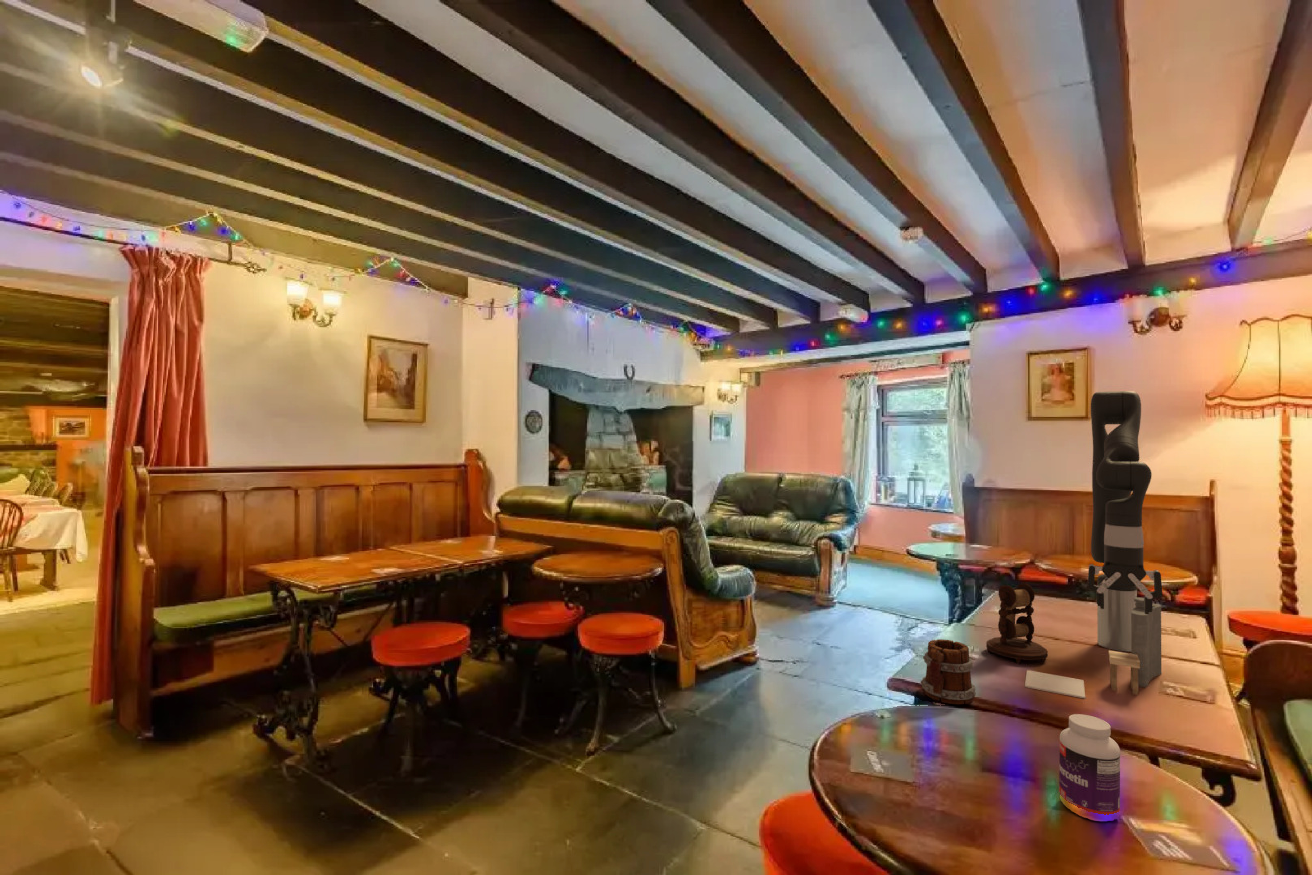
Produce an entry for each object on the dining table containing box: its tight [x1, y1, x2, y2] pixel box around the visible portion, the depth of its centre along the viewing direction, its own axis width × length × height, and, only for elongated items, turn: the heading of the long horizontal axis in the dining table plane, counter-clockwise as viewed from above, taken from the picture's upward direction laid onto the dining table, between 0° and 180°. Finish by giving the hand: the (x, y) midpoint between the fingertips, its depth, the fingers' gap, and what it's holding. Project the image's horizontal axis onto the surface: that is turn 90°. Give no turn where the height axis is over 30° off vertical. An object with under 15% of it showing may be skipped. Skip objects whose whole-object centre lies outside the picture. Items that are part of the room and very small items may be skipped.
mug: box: [920, 638, 977, 705], centre depth 142 cm, size 12×14×15 cm
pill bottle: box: [1058, 713, 1121, 815], centre depth 98 cm, size 8×8×14 cm
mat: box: [1024, 669, 1086, 700], centre depth 149 cm, size 12×12×1 cm
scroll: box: [985, 582, 1049, 665], centre depth 169 cm, size 15×15×20 cm
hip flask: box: [1130, 596, 1162, 688], centre depth 154 cm, size 16×4×20 cm, turn 129°
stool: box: [1108, 650, 1140, 696], centre depth 147 cm, size 6×6×8 cm
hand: (1123, 610), depth 147 cm, fingers open, 8 cm apart
